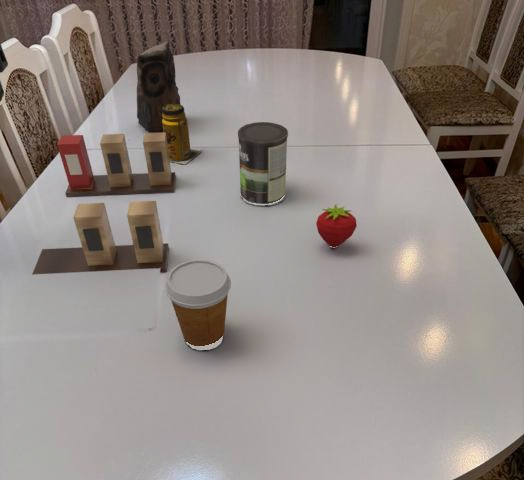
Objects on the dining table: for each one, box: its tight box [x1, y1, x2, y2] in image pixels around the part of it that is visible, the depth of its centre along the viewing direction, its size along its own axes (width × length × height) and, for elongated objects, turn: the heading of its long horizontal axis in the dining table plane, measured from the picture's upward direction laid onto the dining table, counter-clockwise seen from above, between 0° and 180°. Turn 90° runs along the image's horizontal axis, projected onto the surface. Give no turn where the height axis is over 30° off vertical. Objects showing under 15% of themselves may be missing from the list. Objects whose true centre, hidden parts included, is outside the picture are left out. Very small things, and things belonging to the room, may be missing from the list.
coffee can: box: [237, 121, 289, 207], centre depth 106 cm, size 10×10×14 cm
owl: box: [136, 40, 182, 133], centre depth 131 cm, size 13×13×20 cm
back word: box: [65, 132, 177, 198], centre depth 111 cm, size 24×8×11 cm, turn 94°
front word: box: [31, 200, 170, 275], centre depth 90 cm, size 24×8×11 cm, turn 94°
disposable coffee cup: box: [164, 259, 232, 346], centre depth 75 cm, size 10×10×12 cm
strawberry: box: [315, 203, 358, 247], centre depth 93 cm, size 6×8×10 cm
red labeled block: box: [56, 134, 94, 189], centre depth 110 cm, size 5×5×10 cm
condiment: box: [162, 103, 203, 165], centre depth 121 cm, size 7×8×12 cm
